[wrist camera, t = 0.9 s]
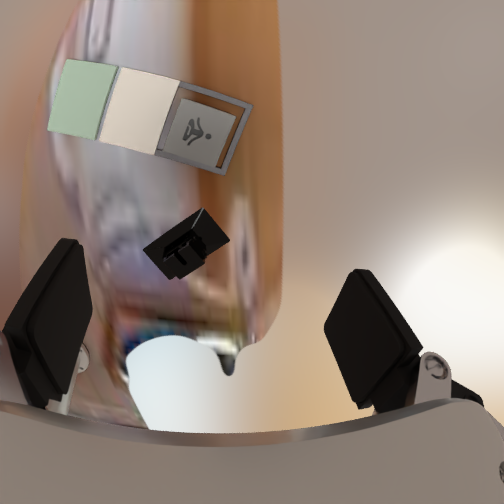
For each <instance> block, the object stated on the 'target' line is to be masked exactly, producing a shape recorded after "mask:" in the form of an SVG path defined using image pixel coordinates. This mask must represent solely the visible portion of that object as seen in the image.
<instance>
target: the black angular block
mask: <svg viewBox="0 0 504 504" xmlns="http://www.w3.org/2000/svg"><path fill="white" fill-rule="evenodd" d="M229 241H230V239H229V238H228V237H227V236H226V234H225V233H224V232H223V231H222V229H221V228H220V227H219V226H218V225H217V223H216V222H215V221H214V220H213V219H212V217H211V216H210V215H209V214H208V213H207V211H206V210H205V209H204V208H201V209H199V210H198V211H196V212H195V213H194V214H192V215H191V216H189V217H188V218H186V219H185V220H183V221H182V222H180V223H179V224H178V225H176V226H175V227H173V228H172V229H170V230H169V231H167V232H166V233H165V234H163V235H162V236H160V237H159V238H158V239H156V240H155V241H153V242H152V243H151V244H149V245H148V246H147V247H145V248H144V249H143V251H144V252H145V253H146V255H147V256H148V257H149V258H150V259H151V260H152V261H153V262H154V264H155V265H156V266H157V267H158V268H159V269H160V270H161V271H162V272H163V274H164V275H165V276H166V277H167V278H168V279H169V280H171V279H173V278H174V277H176V276H177V277H178V279H179V280H180V279H182V278H183V277H185V276H186V275H188V274H189V273H191V272H193V271H194V270H196V269H197V268H199V267H200V266H202V265H204V264H205V259H206V258H207V256H208V255H209V254H211V253H212V252H214V251H215V250H217V249H218V248H220V247H222V246H223V245H225V244H226V243H228V242H229Z"/></svg>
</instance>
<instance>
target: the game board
mask: <svg viewBox="0 0 504 504" xmlns="http://www.w3.org/2000/svg"><path fill="white" fill-rule="evenodd" d="M117 70H118V66H113V65H107V64H101V63H94V62H87V61H79V60H70V59H67V60H66V63H65V66H64V69H63V72H62V75H61V78H60V81H59V84H58V88H57V91H56V95H55V99H54V102H53V106H52V110H51V115H50V119H49V124H48V128H47V130H48V131H53V132H58V133H63V134H68V135H73V136H78V137H82V138H87V139H91V140H96V138H97V134H98V130H99V126H100V122H101V119H102V115H103V112H104V108H105V105H106V102H107V99H108V96H109V93H110V90H111V87H112V84H113V81H114V78H115V75H116V73H117ZM178 87H182V88H185V89H189V90H192V91H195V92H199V93H202V94H205V95H208V96H211V97H214V98H217V99H220V100H223V101H226V102H229V103H232V104H235V105H237V106H240V107H243V108H245V110H244V112H243V115H242V117H241V120H240V122H239V124H238V127H237V129H236V132H235V134H234V137H233V139H232V141H231V144H230V146H229V149H228V151H227V154H226V157H225V159H224V162H223V164H222V167H221V168H219V167H216V166H215V168H214V167H211V166H208V165H205V164H202V163H199V162H196V161H193V160H190V159H187V158H184V157H180V156H177V155H174V154H171V153H167V152H164V151H162V150H159V149H156V148H157V145H158V142H159V139H160V136H161V133H162V130H163V127H164V124H165V121H166V118H167V116H168V113H169V110H170V107H171V105H172V102H173V99H174V97H175V94H176V91H177V89H178ZM252 108H253V105H251V104H248V103H246V102H243V101H240V100H238V99H235V98H232V97H229V96H226V95H223V94H221V93H218V92H215V91H212V90H208V89H205V88H202V87H199V86H196V85H192V84H189V83H185V82H182V81H179V80H175V79H171V78H168V77H164V76H160V75H156V74H151V73H147V72H143V71H138V70H133V69H129V68H123V67H122V69H121V72H120V74H119V77H118V80H117V83H116V86H115V88H114V91H113V94H112V97H111V101H110V104H109V107H108V110H107V114H106V117H105V121H104V124H103V128H102V132H101V135H100V139H99V141H100V142H104V143H108V144H112V145H116V146H121V147H124V148H128V149H132V150H136V151H140V152H144V153H147V154H151V155H156V156H160V157H164V158H167V159H171V160H174V161H178V162H181V163H184V164H188V165H191V166H194V167H198V168H201V169H204V170H207V171H211V172H214V173H217V174H220V175H223V176H225V173H226V171H227V168H228V166H229V163H230V161H231V158H232V156H233V153H234V151H235V148H236V146H237V143H238V141H239V138H240V136H241V134H242V131H243V129H244V126H245V124H246V122H247V119H248V117H249V115H250V112H251V110H252Z"/></svg>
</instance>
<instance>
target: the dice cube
mask: <svg viewBox="0 0 504 504" xmlns="http://www.w3.org/2000/svg"><path fill="white" fill-rule="evenodd" d="M235 119H236V116H234V115H232V114H229V113H227V112H224V111H221V110H218V109H216V108H213V107H210V106H207V105H204V104H201V103H198V102H195V101H192V100H189V99H185V98H182V100H181V102H180V105H179V107H178V110H177V112H176V115H175V117H174V120H173V123H172V125H171V128H170V131H169V134H168V136H167V139H166V142H165V145H164V148H163V151H164V152H167V153H171V154H174V155H177V156H180V157H184V158H187V159H190V160H193V161H196V162H199V163H202V164H205V165H208V166H211V167H214V168H215V166H216V164H217V161H218V159H219V157H220V154H221V152H222V149H223V147H224V144H225V142H226V140H227V137H228V135H229V132H230V130H231V128H232V125H233V123H234V121H235Z"/></svg>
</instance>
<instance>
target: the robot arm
mask: <svg viewBox="0 0 504 504" xmlns="http://www.w3.org/2000/svg"><path fill="white" fill-rule="evenodd" d="M92 310H93V308H92V301H91V296H90V290H89V285H88V279H87V272H86V265H85V258H84V249H83V246H82V245H80V244H79V242H78V240H75V239H67V238H61V239H60V240H59V242H58V243H57V244H56V246H55V247H54V248H53V250H52V251H51V252H50V254H49V255H48V256H47V258H46V259H45V261H44V262H43V264H42V265H41V266H40V268H39V269H38V271H37V272H36V274H35V275H34V277H33V278H32V280H31V281H30V283H29V284H28V286H27V287H26V289H25V291H24V292H23V294H22V295H21V297H20V299H19V300H18V302H17V304H16V305H15V307H14V309H13V311H12V312H11V314H10V316H9V318H8V320H7V321H6V323H5V326H4V329H3V330H2V332H1V331H0V504H504V427H503V426H502V425H501V424H500V423H499V422H498V421H497V420H496V419H495V418H494V417H493V416H492V415H491V414H490V413H489V412H487V411H486V410H485V408H484V405H483V400H482V398H481V397H480V396H479V395H478V394H476V393H475V392H473V391H471V390H469V389H467V388H466V387H464V386H462V385H460V384H459V383H457V382H455V381H453V380H452V379H451V369H450V367H449V365H448V363H447V362H446V360H444V359H443V358H442V357H441V356H439V355H438V354H436V353H433V352H426V353H424V354H423V355H422V356H421V357H420V356H419V352H420V351H421V350H422V349H423V346H422V345H421V343H420V342H419V340H418V338H417V337H416V335H415V334H414V333H413V331H412V329H411V328H410V326H409V325H408V323H407V322H406V320H405V319H404V317H403V316H402V314H401V313H400V311H399V310H398V308H397V307H396V306H395V304H394V303H393V301H392V300H391V299H390V297H389V296H388V294H387V293H386V292H385V290H384V289H383V287H382V286H381V284H380V283H379V282H378V280H377V279H376V278H375V276H374V275H373V274H372V272H371V271H370V270H365V269H354V270H353V272H351V273H349V275H348V277H347V279H346V281H345V283H344V285H343V287H342V289H341V292H340V294H339V296H338V298H337V300H336V302H335V304H334V306H333V308H332V310H331V312H330V314H329V316H328V318H327V320H326V322H325V324H324V333H325V335H326V337H327V340H328V342H329V345H330V347H331V349H332V352H333V354H334V357H335V359H336V361H337V364H338V366H339V369H340V371H341V374H342V376H343V379H344V381H345V384H346V386H347V389H348V391H349V394H350V396H351V399H352V401H353V402H355V403H356V404H357V407H358V409H364V408H369V407H371V406H372V405H373V406H374V408H375V409H374V412H373V415H372V416H369V417H364V418H360V419H355V420H350V421H345V422H340V423H334V424H329V425H322V426H315V427H308V428H301V429H293V430H282V431H271V432H256V433H229V434H228V433H227V434H226V433H224V434H220V433H219V434H218V433H217V434H215V433H184V432H183V433H182V432H169V431H157V430H148V429H139V428H132V427H125V426H119V425H113V424H107V423H101V422H96V421H91V420H86V419H81V418H77V417H72V416H68V412H69V407H70V402H71V398H72V393H73V389H74V385H75V381H76V377H77V373H81V372H83V371H85V370H86V369H87V367H88V365H89V360H90V359H89V353H88V351H87V349H86V347H85V346H84V345H83V344H82V342H83V339H84V336H85V333H86V330H87V327H88V325H89V322H90V319H91V316H92Z"/></svg>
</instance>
